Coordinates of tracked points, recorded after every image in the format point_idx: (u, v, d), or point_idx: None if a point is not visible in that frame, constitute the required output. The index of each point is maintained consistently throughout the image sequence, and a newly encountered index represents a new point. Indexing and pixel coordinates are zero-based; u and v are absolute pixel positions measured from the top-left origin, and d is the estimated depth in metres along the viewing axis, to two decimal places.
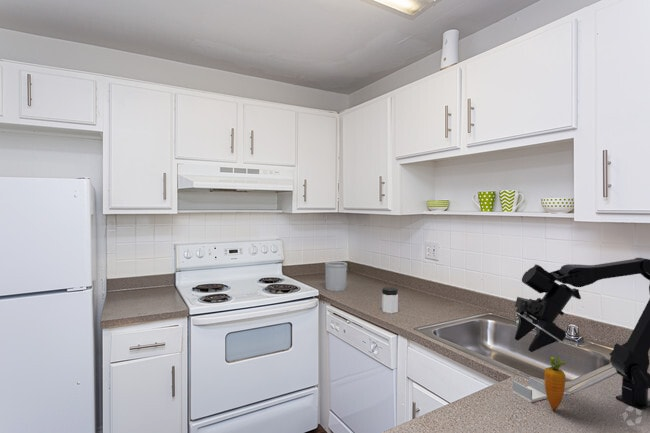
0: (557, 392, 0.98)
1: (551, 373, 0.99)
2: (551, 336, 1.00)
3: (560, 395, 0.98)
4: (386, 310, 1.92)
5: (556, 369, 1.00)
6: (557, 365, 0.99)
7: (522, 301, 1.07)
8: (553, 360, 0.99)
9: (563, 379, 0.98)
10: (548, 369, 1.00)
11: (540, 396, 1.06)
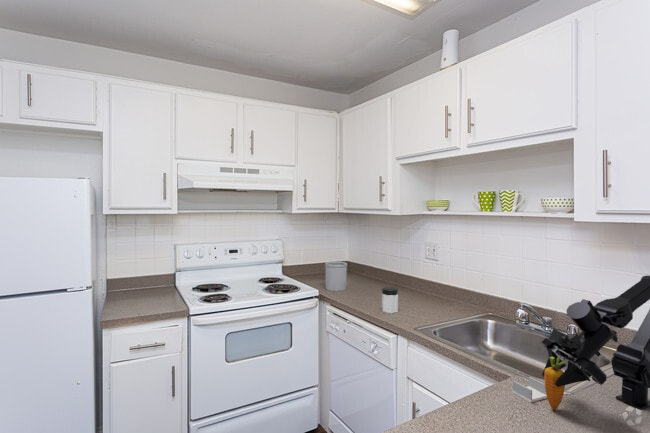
0: (557, 392, 0.98)
1: (551, 373, 0.99)
2: (584, 374, 0.94)
3: (560, 395, 0.98)
4: (386, 310, 1.92)
5: (556, 369, 1.00)
6: (557, 365, 0.99)
7: (562, 334, 0.98)
8: (553, 360, 0.99)
9: None
10: (548, 369, 1.00)
11: (540, 396, 1.06)
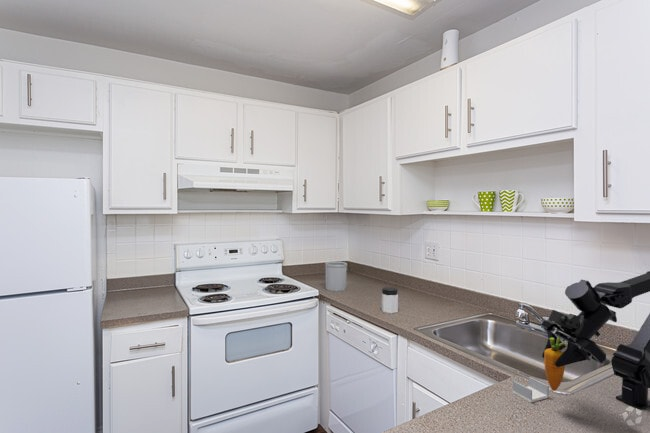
0: (557, 372, 0.98)
1: (551, 353, 0.99)
2: (584, 353, 0.94)
3: (560, 375, 0.98)
4: (386, 310, 1.92)
5: (556, 350, 1.00)
6: (557, 346, 1.00)
7: (561, 315, 0.98)
8: (553, 341, 0.99)
9: None
10: (548, 350, 1.00)
11: (540, 396, 1.06)
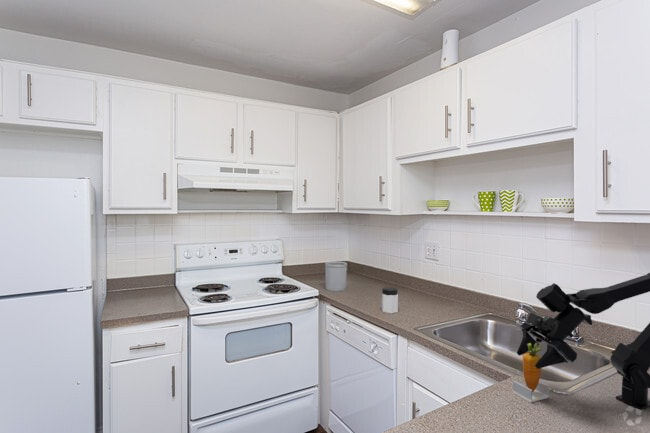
0: (533, 376, 1.06)
1: (528, 358, 1.06)
2: (562, 356, 1.00)
3: (536, 378, 1.06)
4: (386, 310, 1.92)
5: (533, 355, 1.07)
6: (534, 351, 1.07)
7: (537, 317, 1.06)
8: (530, 346, 1.07)
9: None
10: (526, 355, 1.08)
11: (540, 396, 1.06)
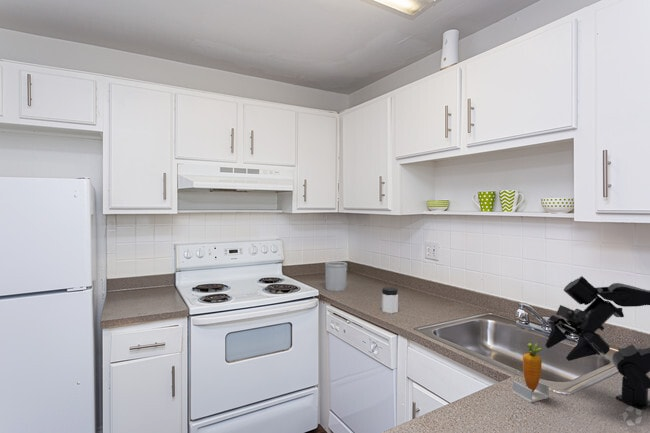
0: (534, 376, 1.06)
1: (528, 358, 1.06)
2: (594, 348, 1.00)
3: (537, 379, 1.06)
4: (386, 310, 1.92)
5: (533, 355, 1.07)
6: (534, 351, 1.07)
7: (568, 309, 1.06)
8: (530, 346, 1.07)
9: (539, 364, 1.06)
10: (526, 355, 1.08)
11: (540, 396, 1.06)
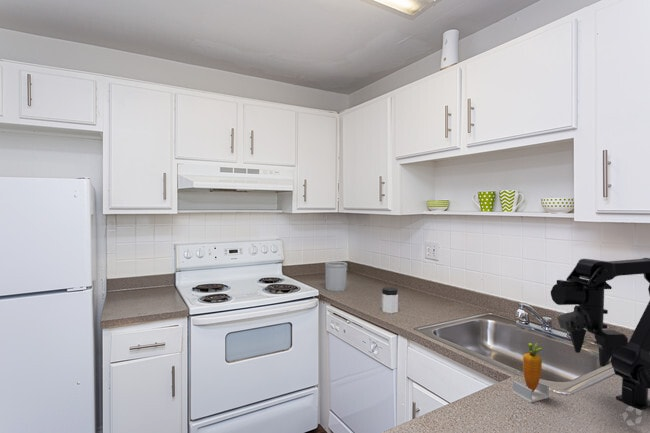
0: (534, 376, 1.06)
1: (529, 358, 1.06)
2: None
3: (537, 378, 1.06)
4: (386, 310, 1.92)
5: (533, 355, 1.07)
6: (534, 351, 1.07)
7: (566, 323, 1.01)
8: (531, 346, 1.07)
9: (539, 364, 1.06)
10: (526, 355, 1.08)
11: (540, 396, 1.06)
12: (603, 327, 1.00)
